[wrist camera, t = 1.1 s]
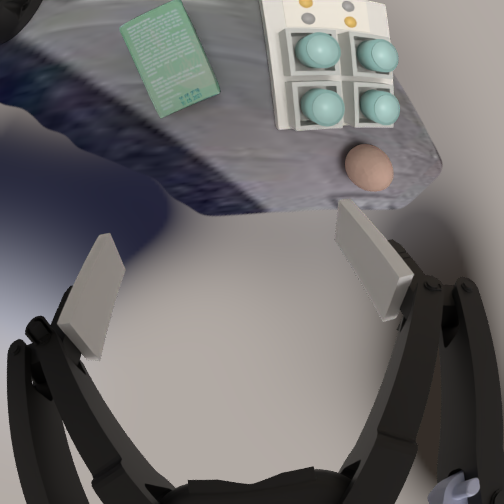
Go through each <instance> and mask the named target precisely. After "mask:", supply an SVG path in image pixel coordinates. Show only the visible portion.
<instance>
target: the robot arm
mask: <svg viewBox="0 0 504 504" xmlns="http://www.w3.org/2000/svg"><path fill="white" fill-rule="evenodd" d="M41 1H42V0H0V44H1V43H4V42H6V41H8V40H9V39H11V38H12V37H14V36H15V35H16V34H17V33H18V32H19V31H20V30H21V29H22V28H23V27H24V26H25V25H26V24H27V23H28V21H29V20H30V19H31V17H32V16H33V15H34V13H35V12H36V10H37V8H38V7H39V5H40V3H41ZM335 241H336V243H337V244H338V246H339V247H340V249H341V251H342V252H343V254H344V255H345V257H346V259H347V260H348V262H349V263H350V265H351V267H352V269H353V270H354V272H355V274H356V275H357V277H358V279H359V280H360V282H361V284H362V286H363V287H364V289H365V291H366V292H367V294H368V296H369V298H370V300H371V301H372V303H373V305H374V307H375V309H376V310H377V312H378V314H379V316H380V318H381V320H382V322H384V321H388V320H391V319H395V318H396V317H397V315H398V313H399V310H401V312H402V314H403V315H404V316H403V318H402V320H401V322H400V324H399V326H398V328H397V330H398V335H397V339H396V342H395V345H394V349H393V352H392V355H391V358H390V361H389V365H388V368H387V370H386V373H385V376H384V379H383V382H382V385H381V387H380V390H379V393H378V395H377V398H376V400H375V403H374V405H373V407H372V410H371V412H370V415H369V417H368V419H367V422H366V424H365V426H364V428H363V430H362V432H361V435H360V437H359V439H358V441H357V443H356V445H355V447H354V448H353V450H352V451H351V453H350V454H349V455H348V457H347V459H346V460H345V462H344V464H343V465H342V467H341V469H340V471H339V472H338V473H337V472H333V471H328V470H321V469H314V467H309V468H304V469H299V470H294V471H289V472H284V473H281V474H278V475H276V476H273V477H271V478H268V479H265V480H263V481H260V482H257V483H254V484H242V483H235V482H229V481H222V480H188V484H185V485H182V486H179V487H178V488H175V487H174V486H173V485H172V484H171V483H170V482H169V481H168V480H167V479H165V478H164V477H163V476H162V475H160V474H159V473H158V472H157V471H156V470H155V469H154V468H153V467H152V466H151V465H150V464H149V463H148V461H147V460H146V459H145V458H144V457H143V455H142V454H141V453H140V451H139V450H138V449H137V448H136V446H135V445H134V444H133V442H132V441H131V440H130V438H129V437H128V436H127V434H126V433H125V431H124V430H123V429H122V427H121V426H120V424H119V423H118V421H117V420H116V419H115V417H114V415H113V414H112V412H111V411H110V409H109V408H108V406H107V405H106V403H105V401H104V400H103V398H102V396H101V395H100V393H99V391H98V390H97V388H96V386H95V385H94V383H93V381H92V379H91V377H90V376H89V374H88V372H87V370H86V368H85V366H84V364H83V363H82V362H81V360H80V357H81V354H82V355H83V356H84V357H85V358H86V359H87V360H97V361H98V360H100V359H101V354H102V350H103V346H104V342H105V338H106V334H107V330H108V326H109V322H110V319H111V315H112V311H113V308H114V304H115V301H116V298H117V295H118V291H119V288H120V285H121V282H122V279H123V276H124V273H125V267H124V265H123V263H122V261H121V258H120V256H119V253H118V251H117V249H116V246H115V244H114V241H113V239H112V237H111V234H110V233H108V234H102V235H99V237H98V238H97V240H96V242H95V244H94V245H93V247H92V249H91V251H90V253H89V255H88V257H87V259H86V261H85V263H84V265H83V267H82V269H81V271H80V272H79V275H78V277H77V279H76V281H75V283H74V285H73V286H70V287H69V288H68V289H67V291H66V292H65V293H64V295H63V297H62V300H61V302H60V304H59V308H58V309H57V311H56V313H55V316H54V318H53V321H52V323H51V325H50V324H49V323H48V322H47V320H46V319H45V318H44V317H43V316H37V317H35V318H33V319H32V320H31V321H30V322H29V324H28V325H27V327H26V330H25V335H26V336H27V337H28V338H29V339H30V340H31V342H32V344H29V345H26V343H25V342H24V341H23V340H21V339H18V340H16V341H14V342H13V343H12V344H11V345H10V348H9V350H8V357H7V399H8V413H9V424H10V432H11V440H12V446H13V452H14V457H15V462H16V466H17V471H18V475H19V479H20V483H21V487H22V490H23V494H24V497H25V500H26V503H27V504H89V502H88V499H87V497H86V494H85V492H84V490H83V487H82V485H81V482H80V479H79V476H78V474H77V471H76V468H75V465H74V462H73V459H72V456H71V452H70V449H69V446H68V442H67V438H66V434H65V431H64V426H63V422H64V424H65V426H66V429H67V431H68V433H69V435H70V437H71V439H72V441H73V442H74V444H75V446H76V448H77V450H78V452H79V454H80V455H81V457H82V459H83V460H84V462H85V464H86V466H87V467H88V469H89V470H90V472H91V473H92V476H93V480H92V482H91V483H92V487H93V489H94V491H95V492H96V494H97V495H98V497H99V498H100V500H101V501H102V502H103V504H395V502H396V500H397V498H398V496H399V494H400V492H401V490H402V487H403V485H404V483H405V481H406V478H407V476H408V474H409V471H410V469H411V467H412V464H413V462H414V459H415V457H416V453H417V450H418V445H417V443H416V441H415V440H416V436H417V433H418V430H419V426H420V423H421V420H422V417H423V413H424V410H425V406H426V403H427V399H428V395H429V391H430V387H431V382H432V378H433V373H434V368H435V362H436V357H437V351H438V345H439V351H440V365H441V390H442V391H441V392H442V394H441V397H442V398H441V399H442V401H441V402H442V403H441V406H442V407H441V431H440V445H439V454H438V465H437V481H438V484H437V485H436V486H435V487H434V489H433V490H432V491H431V492H430V493H429V495H428V501H429V504H504V452H503V446H502V445H503V419H502V402H501V391H500V382H499V375H498V368H497V362H496V356H495V351H494V346H493V341H492V337H491V333H490V329H489V324H488V320H487V317H486V313H485V310H484V306H483V303H482V300H481V297H480V293H479V290H478V288H477V286H476V284H475V283H474V282H473V281H472V280H470V279H469V278H465V277H460V278H458V279H457V281H456V283H455V285H443V284H442V283H441V281H439V280H438V279H437V278H435V277H433V276H429V275H425V274H424V273H423V271H422V270H421V269H420V268H419V266H418V265H417V264H416V263H415V261H414V260H413V259H412V258H411V257H410V255H409V254H408V253H406V251H405V249H404V248H403V247H402V246H401V245H400V244H399V243H397V242H395V241H394V240H386V238H385V237H384V236H383V235H382V234H381V232H380V231H379V230H378V229H377V228H376V227H375V226H374V224H373V223H372V222H371V221H370V220H369V219H368V218H367V217H366V215H365V214H364V213H363V212H362V211H361V210H360V209H359V208H358V206H357V205H356V204H355V203H354V202H353V201H352V200H351V199H343V200H338V212H337V223H336V233H335ZM32 381H33V384H32ZM62 420H63V422H62Z"/></svg>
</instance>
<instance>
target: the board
mask: <svg viewBox="0 0 504 504" xmlns="http://www.w3.org/2000/svg"><path fill="white" fill-rule="evenodd" d="M259 4H260V10H261V16H262V23H263V29H264V36H265V43H266V50H267V58H268V65H269V73H270V81H271V89H272V97H273V106H274V115H275V124H276V128H277V129H279V130H282V129H292V128H293V129H294V130H295V131H302V130H315V129H331V128H343V125H351V126H353V127H355V128H357V127H392V128H393V124H391V125H382V124H379V123H377V122H374V121H372V120H369V119H367V118H366V117H365V116H364V115H363V114H362V112H361V110H360V99H361V96H362V95H363V94H364V93H365V92H366V91H368V90H371V89H374V90H379V91H384V92H388V93H391V94H393V95H394V92H393V71H391V72H378V71H370V70H367V69H366V68H364V67H363V66H362V65H361V64H360V62H359V60H358V58H357V47H358V45H359V44H360V43H361V42H363V41H366V40H375V39H384V40H386V41H388V42H390V43H391V41H390V36H389V29H388V20H387V13H386V8H385V4H381V3H376V2H372V1H367V0H259ZM316 32H322V33H326V34H329V35H331V36H332V37H333V38H334V39H335V40H336V41H337V42H338V44H339V46H340V49H341V56H340V59H339V61H338V62H337V63H336V64H335V65H334V66H332V67H329V68H309V67H307V66H305V65H303V64H302V63H301V62H300V61H299V60H298V59H297V57H296V54H295V46H296V43H297V42H298V41H299V40H300V39H301V38H302V37H304V36H307V35H310V34H312V33H316ZM314 88H320V89H326V90H331V91H334V92H336V93H337V94H338V95H339V96H340V97H341V98H342V100H343V102H344V105H345V112H344V115H343V117H342V119H341V120H340V121H339V122H338V123H337V124H335V125H333V126H321V125H319V124H317V123H315V122H313V121H311V120H309V119H308V118H307V117H305V115H304V114H303V112H302V110H301V99H302V97H303V95H304V94H305V93H306V92H307V91H309V90H311V89H314Z"/></svg>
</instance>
